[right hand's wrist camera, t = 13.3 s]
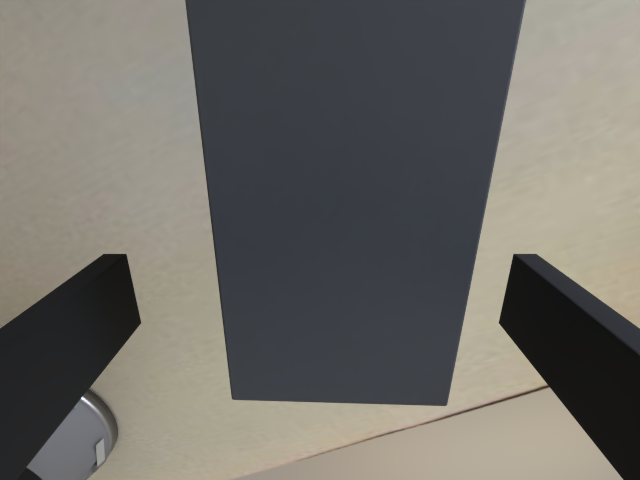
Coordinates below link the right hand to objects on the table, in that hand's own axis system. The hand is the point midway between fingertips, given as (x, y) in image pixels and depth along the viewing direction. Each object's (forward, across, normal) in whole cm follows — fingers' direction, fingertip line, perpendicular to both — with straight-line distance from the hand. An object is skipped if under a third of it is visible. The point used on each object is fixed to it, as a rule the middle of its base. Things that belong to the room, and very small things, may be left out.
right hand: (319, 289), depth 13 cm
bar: (+4, -1, -12) cm, 12 cm away
